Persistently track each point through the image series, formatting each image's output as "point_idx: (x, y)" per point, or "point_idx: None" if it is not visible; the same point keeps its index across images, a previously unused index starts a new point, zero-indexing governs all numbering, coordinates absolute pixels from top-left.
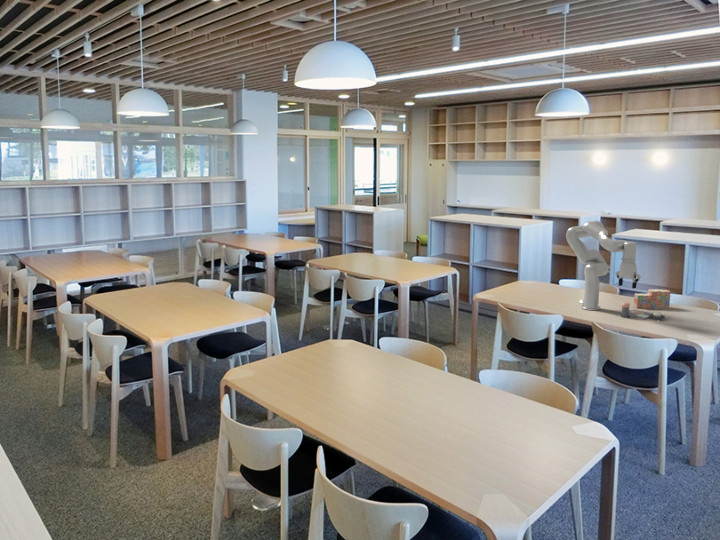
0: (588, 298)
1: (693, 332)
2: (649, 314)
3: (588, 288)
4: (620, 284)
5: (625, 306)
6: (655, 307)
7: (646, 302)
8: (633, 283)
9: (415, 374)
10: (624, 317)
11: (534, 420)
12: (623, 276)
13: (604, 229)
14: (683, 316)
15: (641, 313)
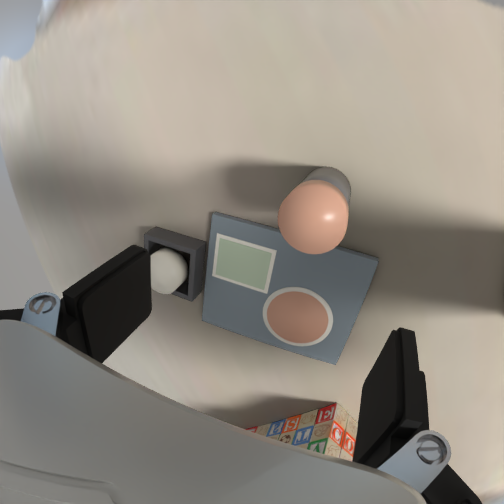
0: None
1: (30, 149)
2: (231, 308)
3: None
4: (385, 358)
5: (304, 183)
6: (269, 426)
7: (295, 436)
8: (77, 286)
9: None
10: (320, 168)
11: None
12: (225, 474)
13: None
14: (144, 354)
15: (269, 304)
